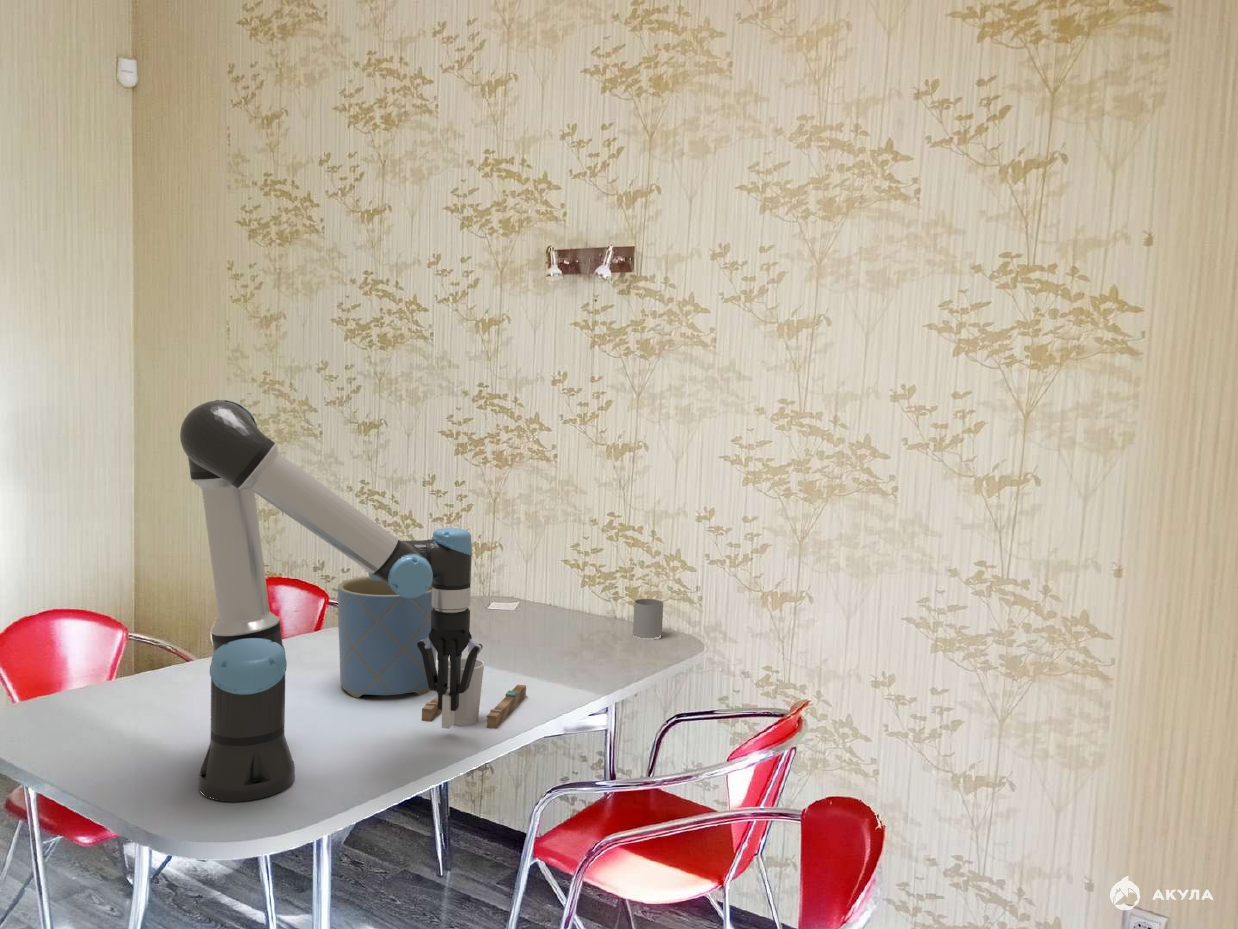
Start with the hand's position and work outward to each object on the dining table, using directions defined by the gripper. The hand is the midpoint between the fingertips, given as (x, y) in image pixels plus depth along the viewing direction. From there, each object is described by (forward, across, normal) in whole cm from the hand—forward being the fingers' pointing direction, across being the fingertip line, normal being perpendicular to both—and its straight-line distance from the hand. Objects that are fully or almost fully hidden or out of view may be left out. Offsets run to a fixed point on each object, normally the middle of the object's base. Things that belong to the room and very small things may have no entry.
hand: (447, 725), depth 181 cm
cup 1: (+2, 0, -9) cm, 9 cm away
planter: (+2, +24, -25) cm, 35 cm away
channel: (+2, 0, -17) cm, 17 cm away
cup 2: (+2, -26, -88) cm, 92 cm away
